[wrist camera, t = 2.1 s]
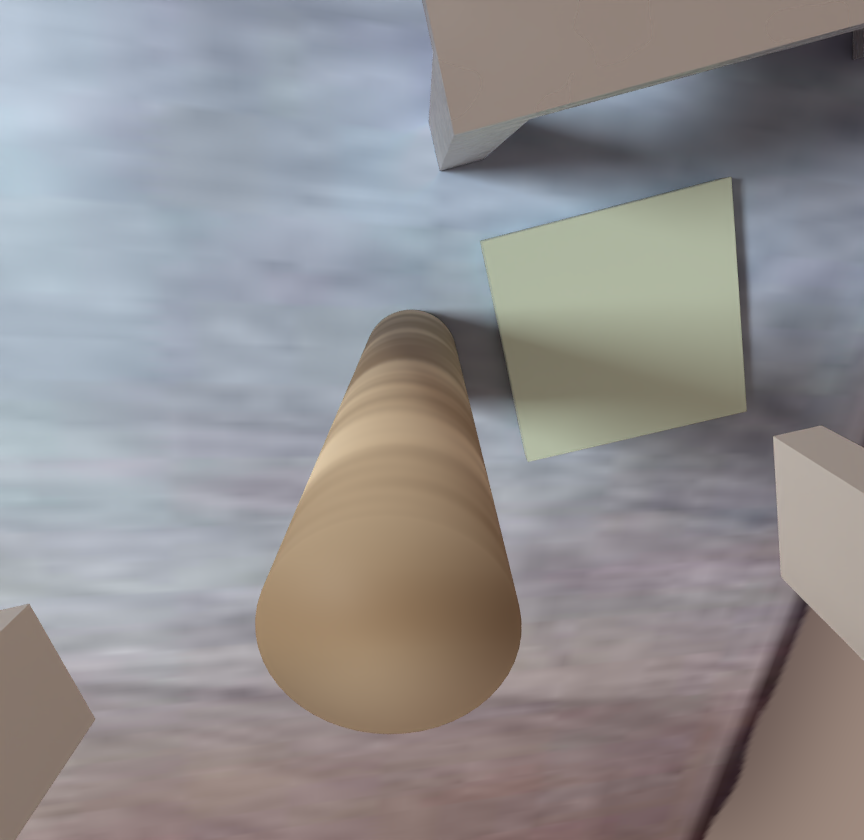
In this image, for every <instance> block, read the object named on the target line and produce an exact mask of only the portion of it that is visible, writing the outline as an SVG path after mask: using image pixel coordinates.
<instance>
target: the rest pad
mask: <svg viewBox="0 0 864 840" xmlns="http://www.w3.org/2000/svg"><path fill="white" fill-rule="evenodd" d="M480 243H481V248H482V253H483V257H484V262H485V267H486V272H487V276H488V281H489V286H490V291H491V295H492V300H493V305H494V310H495V314H496V319H497V324H498V329H499V333H500V338H501V343H502V348H503V352H504V357H505V362H506V367H507V371H508V376H509V381H510V386H511V390H512V395H513V400H514V405H515V409H516V414H517V419H518V424H519V428H520V433H521V438H522V443H523V447H524V452H525V456H526V458H527V461H528V462H530V461H534V460H538V459H543V458H547V457H551V456H556V455H560V454H564V453H569V452H573V451H577V450H582V449H586V448H590V447H595V446H599V445H603V444H608V443H612V442H616V441H621V440H625V439H629V438H634V437H638V436H642V435H647V434H651V433H655V432H660V431H664V430H668V429H673V428H677V427H681V426H685V425H690V424H694V423H698V422H703V421H707V420H711V419H716V418H720V417H724V416H729V415H733V414H737V413H742V412H746V411H747V409H746V393H745V378H744V363H743V348H742V332H741V317H740V302H739V286H738V271H737V256H736V241H735V225H734V210H733V195H732V180H731V177H728V178H720V179H716V180H713V181H709V182H705V183H701V184H697V185H693V186H689V187H686V188H682V189H678V190H674V191H670V192H666V193H663V194H659V195H655V196H651V197H647V198H643V199H639V200H636V201H632V202H628V203H624V204H620V205H616V206H612V207H609V208H605V209H601V210H597V211H593V212H589V213H585V214H582V215H578V216H574V217H570V218H566V219H562V220H558V221H555V222H551V223H547V224H543V225H539V226H535V227H531V228H528V229H524V230H520V231H516V232H512V233H508V234H504V235H501V236H497V237H493V238H489V239H485V240H481V241H480Z"/></svg>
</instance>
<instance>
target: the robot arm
mask: <svg viewBox="0 0 864 840" xmlns="http://www.w3.org/2000/svg"><path fill="white" fill-rule="evenodd" d="M773 443H774V461H775V479H776V496H777V514H778V531H779V549H780V567H781V577H782V578H783V579H784V580H785V581H786V582H787V584H788V585H789V586H790V587H791V588H792V589H793V590H794V591H795V592H796V593H797V594H798V595H799V596H800V597H801V598H802V599H803V600H804V601H805V602H806V603H807V604H808V605H809V606H810V607H811V608H812V609H813V610H814V611H815V612H816V613H817V614H818V615H819V616H820V617H821V618H822V619H823V620H824V621H825V622H826V623H827V624H828V625H829V626H830V627H831V628H832V629H833V630H834V631H835V632H836V633H837V634H838V635H839V636H840V637H841V638H842V639H843V640H844V641H845V642H846V643H847V644H848V645H849V646H850V647H851V648H852V649H853V650H854V651H855V652H856V653H857V654H858V656H860V658H862V659H863V661H864V448H863V447H861V446H860V445H858V444H856V443H854V442H852V441H850V440H848V439H846V438H844V437H842V436H840V435H839V434H837V433H835V432H833V431H831V430H829V429H827V428H825V427H823V426H816V427H812V428H807V429H803V430H799V431H794V432H790V433H785V434H781V435H776V436H773ZM94 720H95V718H94V716H93V714H92V712H91V711H90V709H89V707H88V706H87V704H86V702H85V700H84V699H83V697H82V695H81V693H80V692H79V690H78V688H77V686H76V685H75V683H74V681H73V679H72V678H71V676H70V674H69V672H68V671H67V669H66V667H65V665H64V664H63V662H62V660H61V658H60V657H59V655H58V653H57V651H56V650H55V648H54V646H53V644H52V643H51V641H50V639H49V637H48V636H47V634H46V632H45V630H44V629H43V627H42V625H41V624H40V622H39V620H38V618H37V617H36V615H35V613H34V611H33V610H32V608H31V606H30V604H26V605H21V606H17V607H13V608H8V609H4V610H0V840H15V839H16V838H17V836H18V835H19V833H20V832H21V830H22V829H23V827H24V826H25V824H26V823H27V821H28V820H29V818H30V817H31V815H32V814H33V812H34V811H35V809H36V808H37V806H38V805H39V803H40V802H41V800H42V799H43V797H44V796H45V794H46V793H47V791H48V790H49V788H50V787H51V785H52V784H53V782H54V781H55V779H56V778H57V776H58V775H59V773H60V772H61V770H62V769H63V767H64V766H65V764H66V763H67V761H68V760H69V758H70V757H71V755H72V754H73V752H74V751H75V749H76V748H77V746H78V745H79V743H80V742H81V740H82V739H83V737H84V736H85V734H86V733H87V731H88V729H89V728H90V726H91V725H92V723H93V722H94Z"/></svg>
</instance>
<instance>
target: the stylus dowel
mask: <svg viewBox="0 0 864 840" xmlns="http://www.w3.org/2000/svg"><path fill="white" fill-rule="evenodd" d="M255 625H256V638H257V643H258V648H259V651H260V654H261V656H262V659H263V662H264V664H265V665H266V667H267V669H268V671H269V673H270V675H271V676H272V677H273V679H274V680H275V681H276V683H277V684H278V686H279V687H280V688H281V689H282V690H283V691H284V692H285V693H286V694H287V695H288V696H289V697H290V698H291V699H292V700H294V701H295V702H296V703H297V704H299V705H300V706H301V707H303V708H304V709H306V710H307V711H309V712H310V713H312V714H314V715H316V716H318V717H320V718H322V719H324V720H326V721H328V722H330V723H333V724H336V725H339V726H341V727H345V728H349V729H353V730H356V731H362V732H369V733H378V734H402V733H411V732H418V731H424V730H428V729H431V728H435V727H439V726H441V725H444V724H447V723H449V722H452V721H454V720H456V719H458V718H460V717H462V716H464V715H466V714H468V713H469V712H471V711H472V710H474V709H475V708H477V707H478V706H480V705H481V704H482V703H483V702H484V701H486V700H487V699H488V698H489V697H490V696H491V695H492V694H493V693H494V692H495V691H496V690H497V689H498V688H499V686H500V685H501V684H502V682H503V681H504V679H505V678H506V677H507V675H508V674H509V672H510V670H511V668H512V666H513V664H514V662H515V659H516V656H517V653H518V650H519V645H520V639H521V615H520V608H519V603H518V599H517V595H516V591H515V587H514V583H513V579H512V575H511V571H510V566H509V562H508V558H507V554H506V550H505V546H504V542H503V538H502V534H501V530H500V526H499V521H498V517H497V513H496V509H495V505H494V501H493V497H492V493H491V489H490V485H489V481H488V476H487V472H486V468H485V464H484V460H483V456H482V452H481V448H480V444H479V440H478V436H477V431H476V427H475V423H474V419H473V415H472V411H471V407H470V403H469V399H468V395H467V391H466V386H465V382H464V378H463V374H462V370H461V366H460V362H459V358H458V354H457V350H456V346H455V342H454V339H453V337H452V334H451V333H450V331H449V329H448V328H447V327H446V326H445V324H444V323H443V322H441V321H440V320H439V319H438V318H436V317H435V316H433V315H431V314H429V313H426V312H423V311H419V310H403V311H399V312H396V313H393V314H391V315H389V316H387V317H386V318H384V319H383V320H382V321H381V322H379V323H378V325H377V326H376V327H375V328H374V330H373V331H372V333H371V335H370V337H369V339H368V342H367V344H366V346H365V349H364V351H363V353H362V356H361V358H360V361H359V363H358V365H357V368H356V370H355V372H354V375H353V377H352V379H351V382H350V384H349V386H348V389H347V391H346V393H345V396H344V398H343V401H342V403H341V405H340V408H339V410H338V412H337V415H336V417H335V419H334V422H333V424H332V426H331V429H330V431H329V433H328V436H327V438H326V440H325V443H324V445H323V448H322V450H321V452H320V455H319V457H318V459H317V462H316V464H315V466H314V469H313V471H312V473H311V476H310V478H309V480H308V483H307V485H306V488H305V490H304V492H303V495H302V497H301V499H300V502H299V504H298V506H297V509H296V511H295V513H294V516H293V518H292V520H291V523H290V525H289V527H288V530H287V532H286V535H285V537H284V539H283V542H282V544H281V546H280V549H279V551H278V553H277V556H276V558H275V560H274V563H273V565H272V567H271V570H270V572H269V575H268V577H267V579H266V582H265V584H264V586H263V589H262V591H261V594H260V598H259V601H258V604H257V611H256V618H255Z"/></svg>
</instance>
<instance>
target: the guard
mask: <svg viewBox="0 0 864 840" xmlns="http://www.w3.org/2000/svg"><path fill="white" fill-rule="evenodd" d="M422 3H423V8H424V12H425V17H426V22H427V26H428V31H429V36H430V40H431V45H432V50H433V61H432V77H431V93H430V109H429V126H430V131H431V135H432V140H433V144H434V148H435V153H436V157H437V162H438V166H439V171H442V170H445V169H449V168H453V167H457V166H460V165H464V164H468V163H471V162H475V161H479V160H483V159H484V158H486V157H487V156H488V155H489V154H490V153H491V152H492V151H494V150H495V149H496V148H497V147H498V146H499V145H500V144H502V143H503V142H504V141H505V140H506V139H507V138H508V137H510V136H511V135H512V134H513V133H514V132H515V131H516V130H518V129H519V128H520V127H521V126H522V125H523V124H524V123H526V122H527V121H528V120H529V119H532V118H536V117H540V116H543V115H547V114H551V113H554V112H558V111H562V110H565V109H569V108H573V107H577V106H580V105H584V104H588V103H591V102H595V101H599V100H602V99H606V98H610V97H613V96H617V95H621V94H624V93H628V92H632V91H635V90H639V89H643V88H646V87H650V86H654V85H657V84H661V83H665V82H668V81H672V80H676V79H679V78H683V77H687V76H690V75H694V74H698V73H701V72H705V71H709V70H712V69H716V68H720V67H723V66H727V65H731V64H734V63H738V62H742V61H745V60H749V59H753V58H756V57H760V56H764V55H767V54H771V53H775V52H778V51H782V50H786V49H789V48H793V47H797V46H800V45H804V44H808V43H811V42H815V41H819V40H822V39H826V38H830V37H833V36H837V35H841V34H844V33H848V32H852V31H853V60H854V59H858V58H861V57H864V0H422Z"/></svg>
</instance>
